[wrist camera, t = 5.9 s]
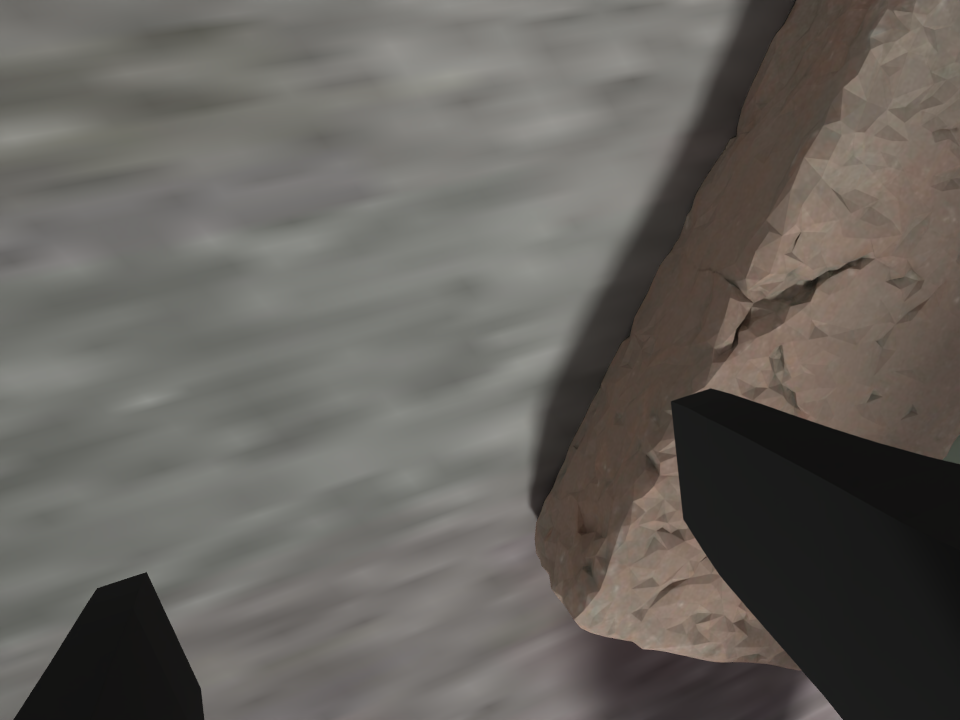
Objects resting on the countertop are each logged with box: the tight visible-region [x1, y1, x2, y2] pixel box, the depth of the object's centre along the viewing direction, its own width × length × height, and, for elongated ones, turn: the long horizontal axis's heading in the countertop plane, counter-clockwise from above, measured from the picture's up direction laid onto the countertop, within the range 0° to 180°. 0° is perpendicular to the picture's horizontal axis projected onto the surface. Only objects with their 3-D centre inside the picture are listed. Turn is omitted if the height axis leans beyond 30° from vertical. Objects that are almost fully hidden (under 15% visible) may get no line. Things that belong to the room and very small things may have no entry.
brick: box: [535, 0, 960, 671], centre depth 23 cm, size 17×8×5 cm, turn 155°
